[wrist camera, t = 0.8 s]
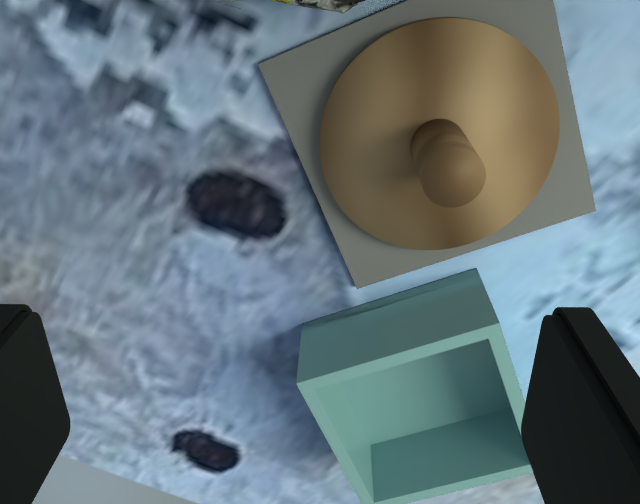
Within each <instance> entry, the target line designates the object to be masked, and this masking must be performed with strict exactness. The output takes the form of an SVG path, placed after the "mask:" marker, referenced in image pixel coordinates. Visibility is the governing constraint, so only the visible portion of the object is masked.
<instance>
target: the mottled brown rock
mask: <svg viewBox="0 0 640 504" xmlns="http://www.w3.org/2000/svg"><path fill="white" fill-rule="evenodd" d="M228 1H238V0H228ZM272 1H277V2H282V3H288V4H293V5H298V6H303V7H310V8H316V9H323V10H330V11H337V12H341V13H345V12H346V11H348V10H349V9H351V8H352V7H353V6H355V5H358V4H357V3H359V2H362V1H365V0H272ZM215 2H216V1H215ZM221 2H224V1H221ZM218 3H219V2H218ZM222 4H223V3H222ZM225 5H226V4H225ZM232 7H233V6H232ZM239 9H240V8H239ZM246 11H247V10H246Z"/></svg>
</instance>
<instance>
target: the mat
mask: <svg viewBox="0 0 640 504" xmlns="http://www.w3.org/2000/svg"><path fill="white" fill-rule="evenodd" d="M435 17H459V18H467V19H472V20H476V21H481V22H483V23H486V24H489V25H491V26H494V27H496V28H498V29H500V30H502V31H504V32H505V33H507V34H509V35H511V36H512V37H514V38H515V39H517V40H518V41H519V42H520V43H522V44H523V45H524V46H525V47H527V48H528V49H529V50H530V52H531V53H532V54H533V55H534V56H535V57H536V58H537V59H538V61H539V62H540V64H541V65H542V67H543V68H544V70H545V71H546V72H547V75H548V77H549V79H550V81H551V83H552V85H553V88H554V91H555V95H556V98H557V102H558V109H559V116H560V133H559V140H558V147H557V151H556V155H555V158H554V162H553V164H552V167H551V169H550V172H549V174H548V176H547V178H546V180H545V182H544V183H543V185H542V187H541V189H540V190H539V192H538V193H537V194H536V196H535V197H534V198H533V200H532V201H531V202H530V203H529V205H528V206H527V207H526V208H525V209H524V210H523V211H522V212H521V213H520V214H519V215H518V216H517V217H515V218H514V219H513V220H512V221H511V222H509V223H508V224H507V225H505V226H504V227H502V228H501V229H499V230H498V231H496V232H494V233H492V234H491V235H489V236H487V237H485V238H483V239H480V240H478V241H475V242H473V243H470V244H467V245H463V246H459V247H456V248H449V249H443V250H416V249H409V248H404V247H399V246H396V245H393V244H390V243H387V242H384V241H382V240H380V239H378V238H376V237H374V236H372V235H370V234H369V233H367V232H366V231H364V230H362V229H361V228H360V227H359V226H358V225H356V224H355V223H354V222H353V221H352V220H351V219H350V218H349V217H348V216H347V215H346V214H345V213H344V212H343V211H342V209H341V208H340V207H339V205H338V204H337V202H336V201H335V199H334V198H333V196H332V194H331V192H330V190H329V188H328V186H327V183H326V180H325V177H324V174H323V170H322V165H321V160H320V148H319V141H320V128H321V121H322V117H323V112H324V108H325V105H326V102H327V100H328V97H329V94H330V92H331V90H332V88H333V86H334V84H335V82H336V81H337V79H338V78H339V76H340V75H341V73H342V72H343V70H344V69H345V67H346V66H347V65H348V64H349V63H350V62H351V60H352V59H353V58H354V57H355V56H356V55H357V54H358V53H359V52H360V51H361V50H363V49H364V48H365V47H366V46H367V45H368V44H370V43H371V42H373V41H374V40H375V39H377V38H378V37H380V36H381V35H383V34H385V33H387V32H389V31H391V30H393V29H395V28H397V27H399V26H402V25H405V24H408V23H411V22H414V21H418V20H423V19H428V18H435ZM258 66H259V68H260V70H261V72H262V75H263V77H264V79H265V81H266V84H267V86H268V88H269V90H270V93H271V95H272V97H273V100H274V102H275V104H276V106H277V109H278V111H279V113H280V115H281V118H282V120H283V122H284V124H285V127H286V129H287V131H288V134H289V136H290V138H291V140H292V143H293V145H294V147H295V149H296V152H297V154H298V156H299V159H300V161H301V163H302V165H303V168H304V170H305V172H306V174H307V177H308V179H309V181H310V183H311V186H312V188H313V190H314V193H315V195H316V197H317V199H318V202H319V204H320V206H321V208H322V211H323V213H324V215H325V217H326V220H327V222H328V224H329V227H330V229H331V231H332V233H333V236H334V238H335V240H336V242H337V245H338V247H339V249H340V251H341V254H342V256H343V258H344V261H345V263H346V265H347V267H348V270H349V272H350V274H351V276H352V279H353V281H354V283H355V286H356V288H357V289H358V288H361V287H364V286H367V285H370V284H373V283H376V282H380V281H383V280H386V279H389V278H392V277H395V276H398V275H401V274H404V273H407V272H410V271H413V270H416V269H419V268H422V267H425V266H428V265H432V264H435V263H438V262H441V261H444V260H447V259H450V258H453V257H456V256H459V255H462V254H465V253H468V252H471V251H474V250H477V249H480V248H483V247H487V246H490V245H493V244H496V243H499V242H502V241H505V240H508V239H511V238H514V237H517V236H520V235H523V234H526V233H529V232H532V231H535V230H538V229H542V228H545V227H548V226H551V225H554V224H557V223H560V222H563V221H566V220H569V219H572V218H575V217H578V216H581V215H584V214H587V213H590V212H594V211H596V209H595V204H594V199H593V194H592V189H591V184H590V179H589V174H588V169H587V164H586V160H585V155H584V150H583V145H582V140H581V135H580V130H579V125H578V120H577V116H576V111H575V106H574V101H573V96H572V91H571V86H570V81H569V76H568V71H567V67H566V62H565V57H564V52H563V47H562V42H561V37H560V32H559V27H558V23H557V18H556V13H555V8H554V3H553V0H405V1H403V2H400V3H398V4H396V5H393V6H391V7H389V8H386V9H384V10H382V11H379V12H377V13H375V14H372V15H370V16H368V17H365V18H363V19H361V20H358V21H356V22H354V23H351V24H349V25H347V26H344V27H342V28H340V29H337V30H335V31H333V32H330V33H328V34H326V35H323V36H321V37H319V38H316V39H314V40H312V41H309V42H307V43H305V44H302V45H300V46H298V47H295V48H293V49H291V50H288V51H286V52H284V53H281V54H279V55H277V56H274V57H272V58H270V59H267V60H265V61H262V62H260V63H259V64H258Z"/></svg>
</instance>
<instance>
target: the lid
mask: <svg viewBox="0 0 640 504" xmlns="http://www.w3.org/2000/svg"><path fill="white" fill-rule="evenodd" d="M559 133H560V116H559V109H558V102H557V98H556V95H555V91H554V88H553V85H552V83H551V81H550V79H549V77H548V75H547V72H546V71H545V70H544V68H543V67H542V65H541V64H540V62H539V61H538V59H537V58H536V57H535V56H534V55H533V54H532V53H531V52H530V50H529V49H528V48H527V47H525V46H524V45H523V44H522V43H520V42H519V41H518V40H517V39H515V38H514V37H512V36H511V35H509V34H507V33H505V32H504V31H502V30H500V29H498V28H496V27H494V26H491V25H489V24H486V23H483V22H481V21H476V20H472V19H467V18H459V17H435V18H428V19H423V20H418V21H414V22H411V23H408V24H405V25H402V26H399V27H397V28H395V29H393V30H391V31H389V32H387V33H385V34H383V35H381V36H380V37H378V38H377V39H375V40H374V41H373V42H371V43H370V44H368V45H367V46H366V47H365V48H364V49H363V50H361V51H360V52H359V53H358V54H357V55H356V56H355V57H354V58H353V59H352V60H351V62H350V63H349V64H348V65H347V66H346V67H345V69H344V70H343V72H342V73H341V75H340V76H339V78H338V79H337V81H336V82H335V84H334V86H333V88H332V90H331V92H330V94H329V97H328V100H327V102H326V105H325V108H324V112H323V117H322V121H321V128H320V141H319V148H320V160H321V165H322V170H323V174H324V177H325V180H326V183H327V186H328V188H329V190H330V192H331V194H332V196H333V198H334V199H335V201H336V202H337V204H338V205H339V207H340V208H341V209H342V211H343V212H344V213H345V214H346V215H347V216H348V217H349V218H350V219H351V220H352V221H353V222H354V223H355V224H356V225H358V226H359V227H360V228H361V229H362V230H364V231H366V232H367V233H369V234H370V235H372V236H374V237H376V238H378V239H380V240H382V241H384V242H387V243H390V244H393V245H396V246H399V247H404V248H409V249H416V250H443V249H449V248H456V247H459V246H463V245H467V244H470V243H473V242H475V241H478V240H480V239H483V238H485V237H487V236H489V235H491V234H492V233H494V232H496V231H498V230H499V229H501V228H502V227H504V226H505V225H507V224H508V223H509V222H511V221H512V220H513V219H514V218H515V217H517V216H518V215H519V214H520V213H521V212H522V211H523V210H524V209H525V208H526V207H527V206H528V205H529V203H530V202H531V201H532V200H533V198H534V197H535V196H536V194H537V193H538V192H539V190H540V189H541V187H542V185H543V183H544V182H545V180H546V178H547V176H548V174H549V172H550V169H551V167H552V164H553V162H554V158H555V155H556V151H557V147H558V140H559Z"/></svg>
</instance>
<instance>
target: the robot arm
mask: <svg viewBox="0 0 640 504" xmlns="http://www.w3.org/2000/svg"><path fill="white" fill-rule="evenodd" d="M69 432H70V417H69V413H68V410H67V407H66V403H65V400H64V396H63V393H62V389H61V386H60V382H59V379H58V375H57V372H56V368H55V365H54V361H53V358H52V355H51V351H50V348H49V344H48V341H47V337H46V334H45V330H44V327H43V323H42V320H41V317H40V315H39V314H38V313H36V312H32V310H31V308H30V307H29V306H27V305H25V304H0V504H32V502H33V500H34V498H35V496H36V495H37V493H38V491H39V489H40V487H41V485H42V484H43V482H44V480H45V478H46V476H47V474H48V473H49V471H50V469H51V467H52V465H53V464H54V462H55V460H56V458H57V456H58V455H59V453H60V451H61V449H62V447H63V445H64V444H65V442H66V440H67V438H68V435H69ZM521 437H522V442H523V446H524V448H525V451H526V454H527V457H528V459H529V462H530V465H531V467H532V470H533V473H534V476H535V478H536V481H537V484H538V486H539V489H540V492H541V495H542V497H543V500H544V503H545V504H640V377H639V376H638V374H637V373H636V372H635V370H634V369H633V367H632V366H631V364H630V363H629V361H628V360H627V359H626V357H625V356H624V354H623V353H622V351H621V350H620V349H619V347H618V346H617V344H616V343H615V341H614V340H613V338H612V337H611V336H610V334H609V333H608V331H607V330H606V328H605V327H604V326H603V324H602V323H601V321H600V320H599V318H598V317H597V315H596V314H595V313H594V311H593V310H592V309H591V308H588V307H557V308H556V309H555V310H554V311H553V314H552V315H546V316H544V318H543V321H542V324H541V329H540V334H539V339H538V344H537V349H536V354H535V359H534V364H533V369H532V374H531V379H530V383H529V388H528V393H527V398H526V403H525V408H524V413H523V418H522V423H521Z"/></svg>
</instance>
